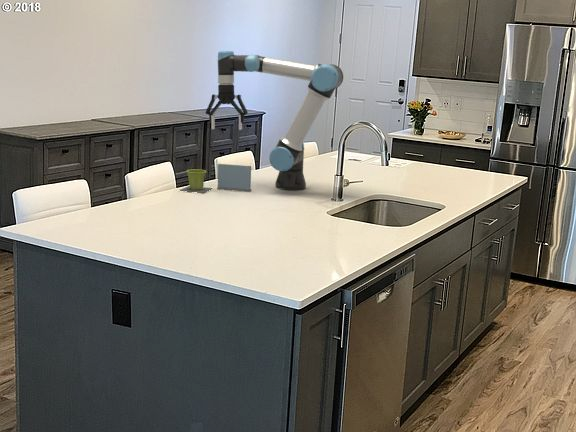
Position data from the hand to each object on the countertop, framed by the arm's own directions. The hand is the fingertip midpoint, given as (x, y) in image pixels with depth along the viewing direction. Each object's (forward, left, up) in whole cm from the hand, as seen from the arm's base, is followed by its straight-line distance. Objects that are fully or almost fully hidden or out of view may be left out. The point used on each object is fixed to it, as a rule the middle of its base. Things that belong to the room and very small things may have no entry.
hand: (226, 129), depth 368 cm
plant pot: (+10, +14, -28) cm, 33 cm away
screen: (-6, +6, -28) cm, 29 cm away
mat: (+10, +14, -28) cm, 33 cm away
